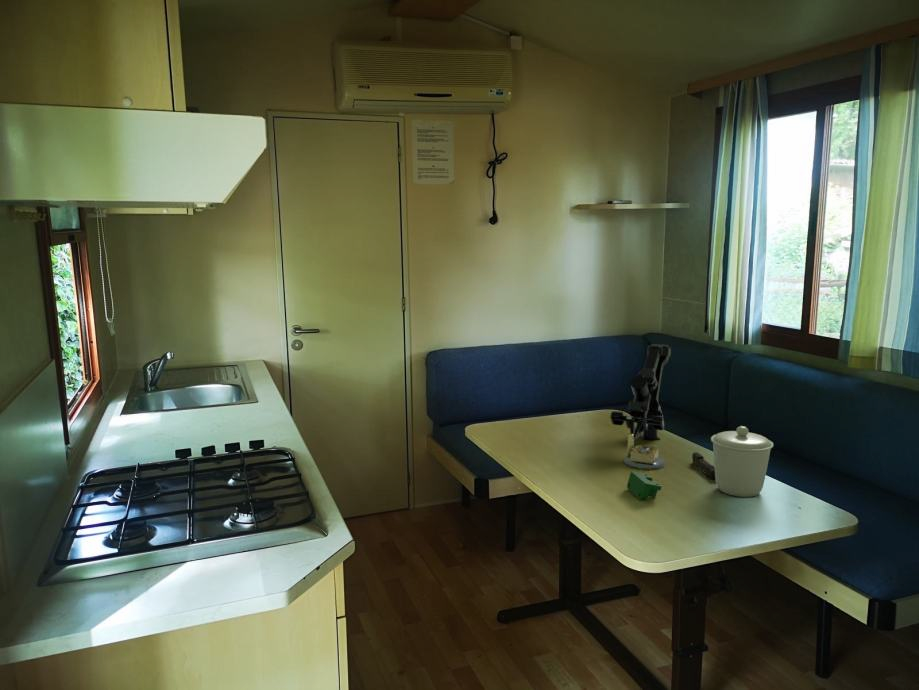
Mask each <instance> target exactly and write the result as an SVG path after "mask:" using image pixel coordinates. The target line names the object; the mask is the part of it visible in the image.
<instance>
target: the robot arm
mask: <svg viewBox="0 0 919 690" xmlns="http://www.w3.org/2000/svg"><path fill="white" fill-rule="evenodd" d="M646 355H647V356H646V359H645V362H644V365H643V368H642V370H640V371H639V372H638V374H637V376H634V377H633V378H632V379H631V380H630V386H631V391H632V394H633V396H634V397H633V400H629V401H628V407H627V410H628V414H627V415H624V414H623V411H618V410H617V411H615V410H613V411H612V412H611V413H610V415H609V417H610V421H611V424H612V425H614V426H622V425H624V423H625V424H626V427H627V429H629V430H630V431H629V432H630V433H632V434H634V442H635V441H636V439H637V438H638V437H639V436H640V437H641V438H642V439H643V440H649V441H651V440H650V439H660V440H661V438H660V437H659V435H658V433H659V431H664V429H665V421H664V415H663V412H662V409H661V408H662V407H661V405H660V403H659V395H660V394H659V393H660V390H661V389H660V388H661V381H662V376H663V370H664V367H665V365H666V364H667V363H668V362H669V359H670V357H671V355H672V348H671V347H669V345H668V344H656V343H652V344H651V345H648V346H647V354H646ZM635 424H636V426H635Z"/></svg>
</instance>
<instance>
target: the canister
mask: <svg viewBox="0 0 919 690" xmlns="http://www.w3.org/2000/svg"><path fill="white" fill-rule="evenodd" d="M710 440H711V442H712V447H713V466H714V468H715V479H716V481H715V484H716V486H717V488H718V489H719V491H721V492H722V493H724V494H727V495H729V496H734V497H739V498H750V497H755V496H757V495H760V493H761V492H762V490H763V487H764V485H765V484H764V483H765V479H766V476H767V470H768V467H769V466H768V464H769V460H770V454H771V450H772V448H774V442H773V441H771V440H770V439H768V438H767V437H765V436H763V435H761V434H757V433H754V432H749V428H747V426H743V425H740V426H738V427H736V430H727V431H722V432H718V433H716V434H713V435H712V436H711V437H710Z"/></svg>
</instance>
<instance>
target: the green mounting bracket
mask: <svg viewBox="0 0 919 690" xmlns="http://www.w3.org/2000/svg"><path fill="white" fill-rule="evenodd" d="M626 488H627V490H628V491H630V493H631V494H632V495H634V496H635V498H637V499H638V500H641V501H647V500H648V498H649V497H650V498H657V497H656V496H657V493H658V491H661V490H662V484H661V483H659V482H656V481H655V482H654V481H653V477H651V475H649V474H647V473H641V472H637V471H630V473H629V477H628V481H627V485H626Z"/></svg>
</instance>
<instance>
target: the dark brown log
mask: <svg viewBox="0 0 919 690" xmlns="http://www.w3.org/2000/svg"><path fill="white" fill-rule="evenodd" d="M691 457H692V460H691V461H692V465H693V466H694V467H695V468H696V469H699V470H700V471H702V472H704V474H705V475H706V476H708V477H709V479H710V480H712V481H711V482H713V481H715V482H716V479H715V468H714V464H710V463H709V462H708V461H706V459H705V457H704V456H703V455H702V454H700V453H699V452H697V451H694V452H692V456H691Z"/></svg>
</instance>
